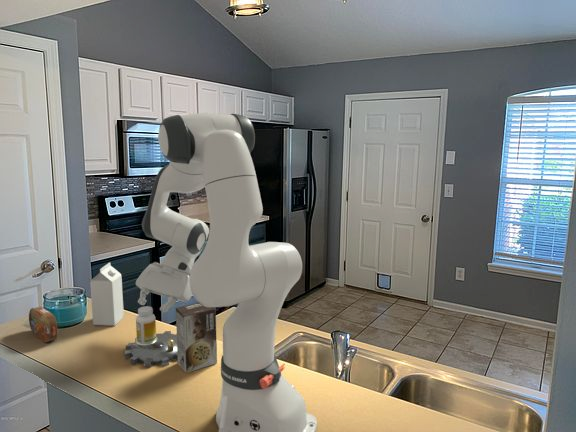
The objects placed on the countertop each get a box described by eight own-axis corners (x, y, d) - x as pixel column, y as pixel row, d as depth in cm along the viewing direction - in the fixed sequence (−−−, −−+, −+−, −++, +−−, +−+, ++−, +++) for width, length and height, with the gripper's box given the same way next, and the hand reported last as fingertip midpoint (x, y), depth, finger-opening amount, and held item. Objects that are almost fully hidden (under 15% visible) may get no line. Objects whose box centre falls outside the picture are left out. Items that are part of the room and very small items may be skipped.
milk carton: (93, 325, 139) (88, 268, 135) (103, 316, 146) (99, 261, 142) (114, 326, 138) (111, 269, 135) (124, 316, 145) (120, 262, 142)
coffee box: (207, 353, 123) (206, 300, 120) (217, 363, 118) (217, 308, 115) (176, 362, 118) (174, 307, 115) (185, 373, 113) (183, 315, 110)
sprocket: (203, 346, 127) (203, 331, 126) (155, 374, 112) (154, 358, 111) (161, 330, 136) (160, 316, 136) (111, 354, 121) (110, 339, 121)
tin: (29, 330, 135) (26, 305, 133) (39, 327, 137) (37, 302, 135) (49, 346, 125) (47, 319, 123) (60, 342, 127) (58, 316, 126)
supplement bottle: (159, 336, 129) (158, 305, 127) (151, 345, 124) (150, 313, 122) (141, 335, 129) (140, 304, 127) (133, 343, 124) (132, 312, 122)
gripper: (146, 256, 136) (121, 295, 130) (194, 267, 125) (169, 311, 119) (157, 266, 141) (134, 304, 134) (205, 278, 130) (182, 320, 124)
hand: (151, 307), depth 127 cm, fingers open, 8 cm apart
